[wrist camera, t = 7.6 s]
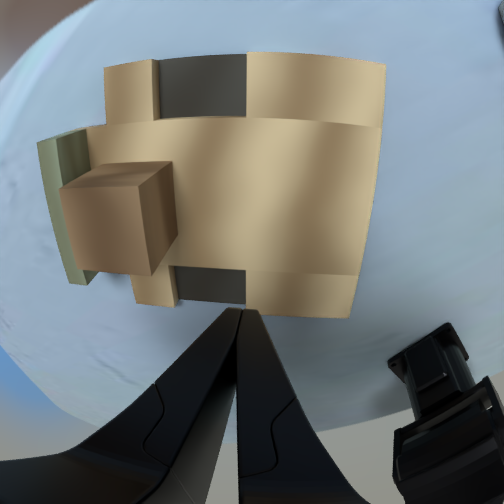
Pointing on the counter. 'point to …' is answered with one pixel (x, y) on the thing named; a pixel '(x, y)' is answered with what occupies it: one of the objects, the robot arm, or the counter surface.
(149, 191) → the walnut block
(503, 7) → the salt shaker
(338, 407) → the counter surface
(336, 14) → the counter surface
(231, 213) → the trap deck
